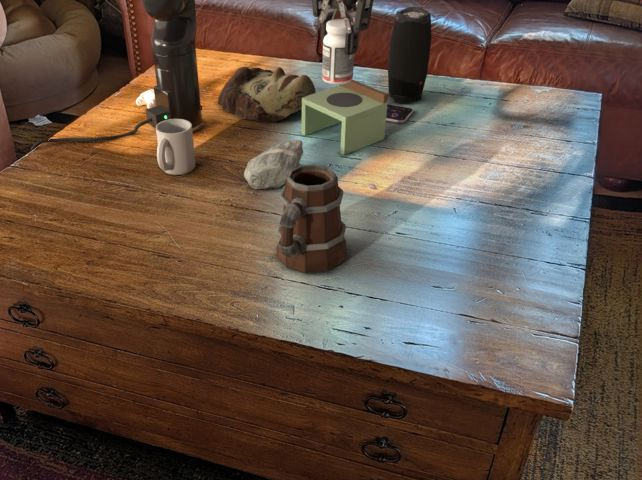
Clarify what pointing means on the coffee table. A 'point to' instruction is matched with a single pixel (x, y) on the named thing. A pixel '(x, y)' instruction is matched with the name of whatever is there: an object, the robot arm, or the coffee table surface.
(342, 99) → the green footstool with circle
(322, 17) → the robot arm
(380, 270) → the coffee table surface
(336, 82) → the pill bottle
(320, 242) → the mug
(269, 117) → the sculpture
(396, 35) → the portable speaker
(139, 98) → the astronaut figurine
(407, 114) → the smartphone
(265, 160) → the decorative stone
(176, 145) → the cup
